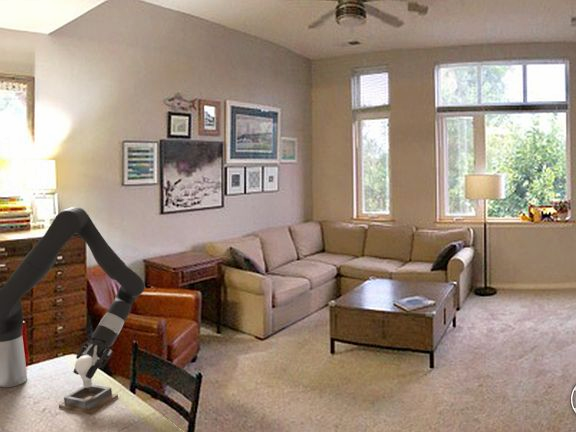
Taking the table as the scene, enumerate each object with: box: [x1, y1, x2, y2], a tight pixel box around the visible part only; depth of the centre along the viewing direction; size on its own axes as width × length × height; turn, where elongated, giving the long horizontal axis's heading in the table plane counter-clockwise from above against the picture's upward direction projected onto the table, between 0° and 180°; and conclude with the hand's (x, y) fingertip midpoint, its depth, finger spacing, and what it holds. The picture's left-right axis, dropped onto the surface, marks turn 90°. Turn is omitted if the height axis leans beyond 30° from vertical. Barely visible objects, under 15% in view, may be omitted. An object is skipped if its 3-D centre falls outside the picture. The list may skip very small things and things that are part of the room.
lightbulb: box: [74, 355, 93, 388], centre depth 168 cm, size 6×6×11 cm
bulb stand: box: [58, 384, 119, 416], centre depth 169 cm, size 14×12×4 cm
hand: (81, 375), depth 167 cm, fingers closed on lightbulb, 6 cm apart
